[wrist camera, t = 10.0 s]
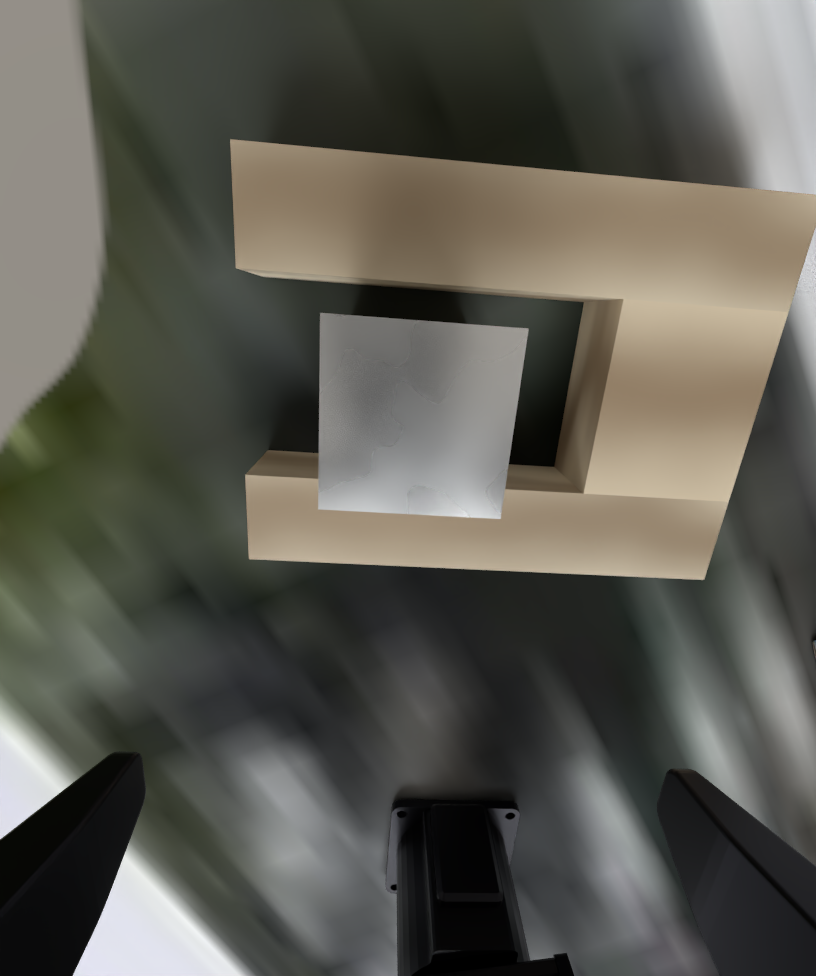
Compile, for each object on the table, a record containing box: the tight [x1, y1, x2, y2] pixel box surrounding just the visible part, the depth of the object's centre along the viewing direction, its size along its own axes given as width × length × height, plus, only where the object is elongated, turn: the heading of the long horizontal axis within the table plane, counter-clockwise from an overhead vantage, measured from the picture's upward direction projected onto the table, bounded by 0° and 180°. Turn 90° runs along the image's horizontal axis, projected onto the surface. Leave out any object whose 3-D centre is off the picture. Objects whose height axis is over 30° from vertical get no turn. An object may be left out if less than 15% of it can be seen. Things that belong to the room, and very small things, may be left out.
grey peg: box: [318, 313, 529, 519], centre depth 14 cm, size 4×4×8 cm
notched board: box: [230, 139, 816, 580], centre depth 16 cm, size 12×16×3 cm
